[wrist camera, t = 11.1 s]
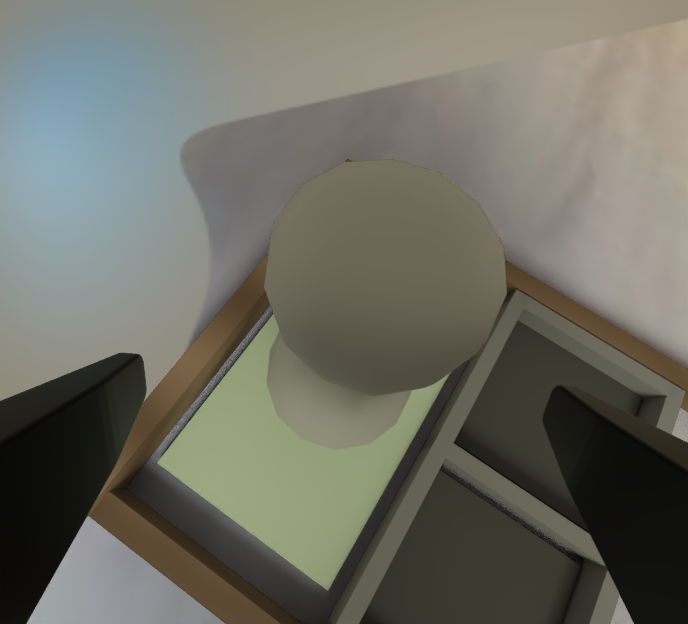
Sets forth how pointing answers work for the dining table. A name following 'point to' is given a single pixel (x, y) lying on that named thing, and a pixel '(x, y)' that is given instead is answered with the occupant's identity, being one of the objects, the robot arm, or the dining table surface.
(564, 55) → the dining table surface
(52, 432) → the robot arm
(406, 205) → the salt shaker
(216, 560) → the wooden frame
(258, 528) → the pad
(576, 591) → the trap pits
